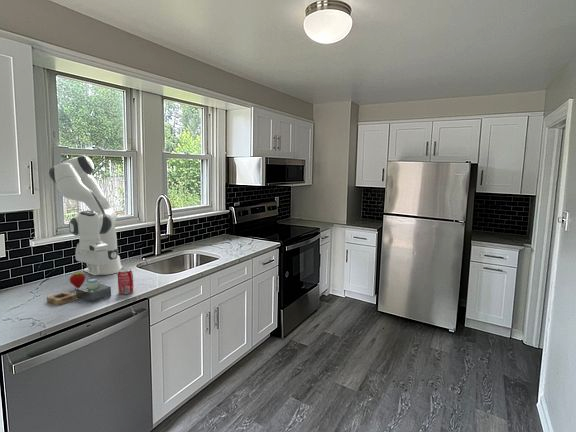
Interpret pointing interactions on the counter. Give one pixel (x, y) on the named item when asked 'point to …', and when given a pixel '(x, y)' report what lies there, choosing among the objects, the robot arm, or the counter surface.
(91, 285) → the plug
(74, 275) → the strawberry
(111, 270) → the robot arm
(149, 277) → the counter surface
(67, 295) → the wooden square frame
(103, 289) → the port block
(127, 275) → the soda can
